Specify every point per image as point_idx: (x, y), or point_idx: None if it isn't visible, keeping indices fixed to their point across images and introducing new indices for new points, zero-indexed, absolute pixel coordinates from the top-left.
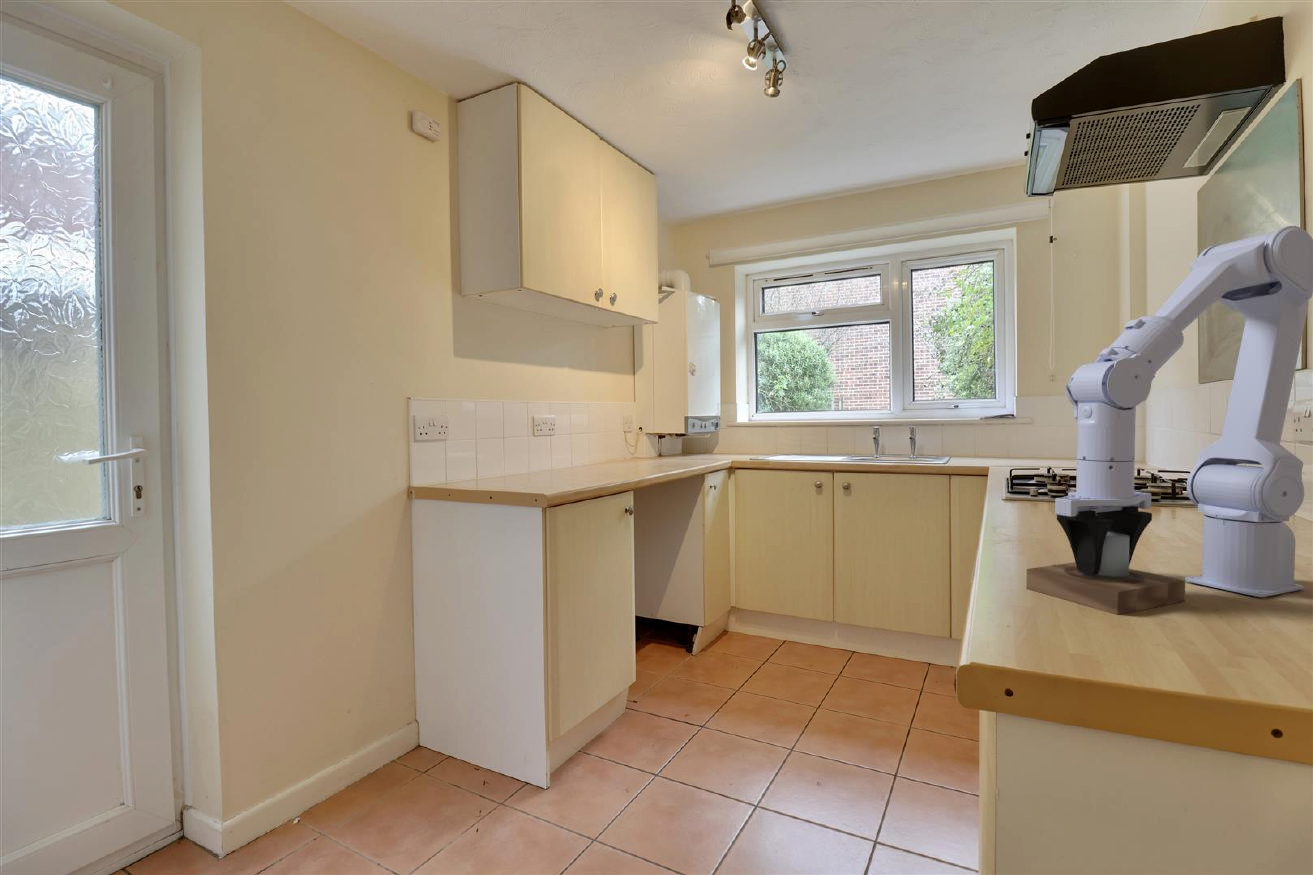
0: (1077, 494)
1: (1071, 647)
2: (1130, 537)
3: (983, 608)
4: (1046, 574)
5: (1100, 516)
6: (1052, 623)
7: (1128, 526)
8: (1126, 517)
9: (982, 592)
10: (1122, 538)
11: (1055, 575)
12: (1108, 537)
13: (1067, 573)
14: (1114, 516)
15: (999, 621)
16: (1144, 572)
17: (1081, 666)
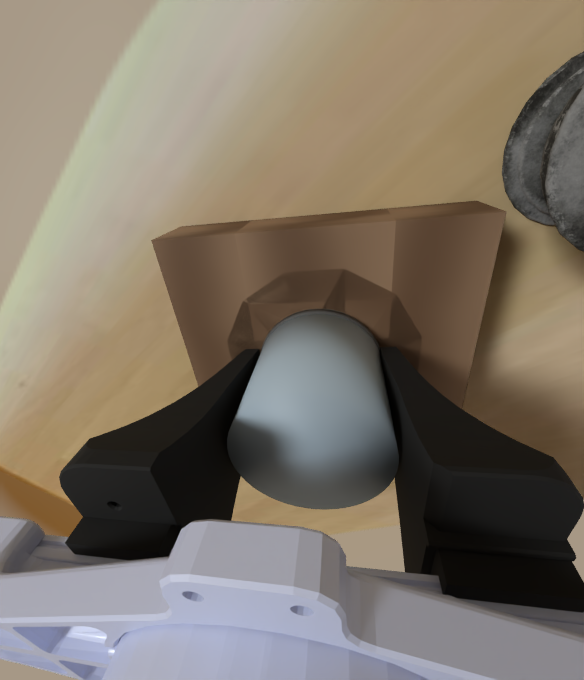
0: (118, 645)
1: (71, 451)
2: (396, 485)
3: (9, 311)
4: (173, 304)
5: (424, 463)
6: (96, 399)
7: (404, 522)
8: (413, 561)
9: (46, 216)
10: (301, 506)
11: (186, 323)
12: (267, 487)
13: (234, 322)
14: (418, 525)
15: (15, 367)
16: (455, 386)
17: (54, 476)
